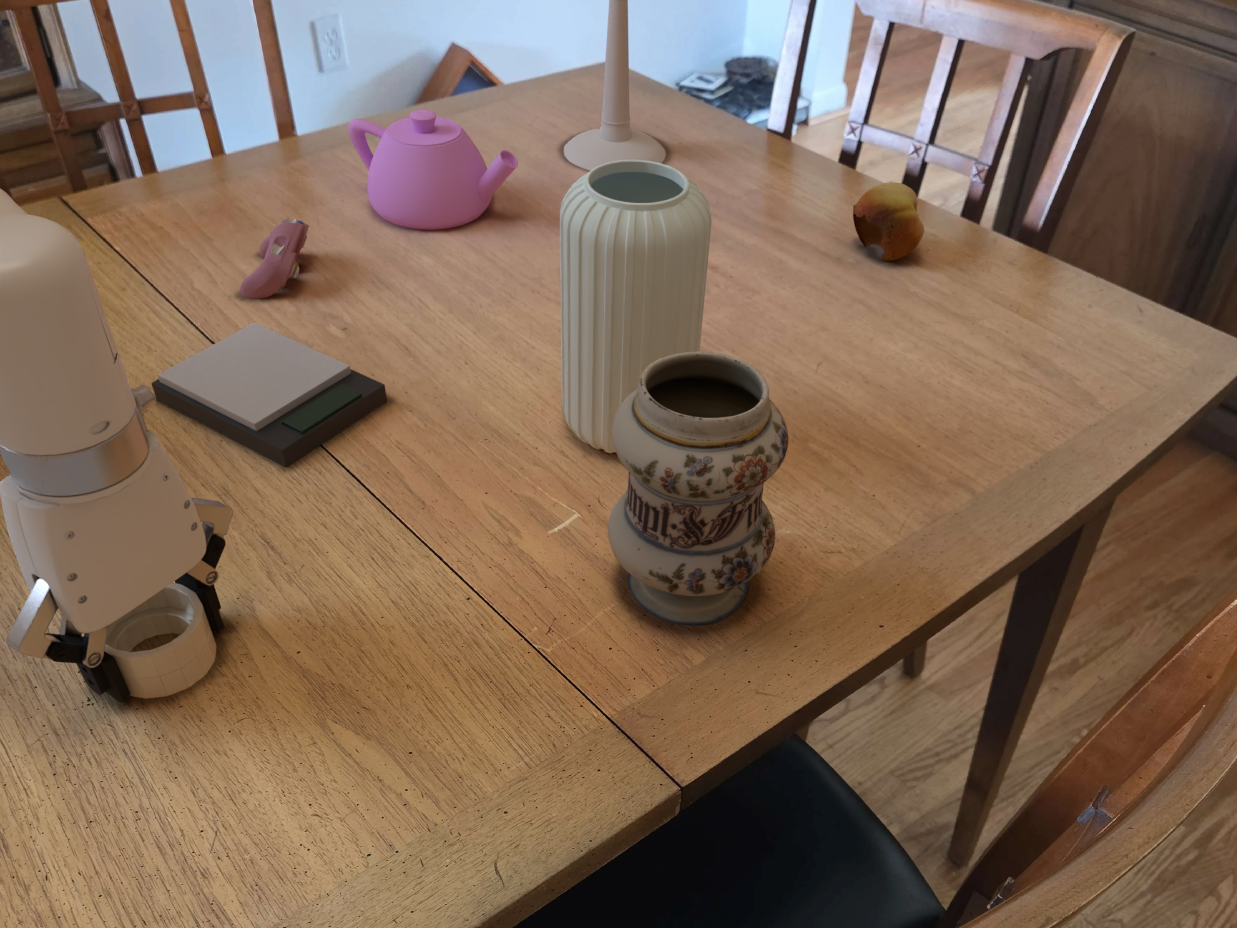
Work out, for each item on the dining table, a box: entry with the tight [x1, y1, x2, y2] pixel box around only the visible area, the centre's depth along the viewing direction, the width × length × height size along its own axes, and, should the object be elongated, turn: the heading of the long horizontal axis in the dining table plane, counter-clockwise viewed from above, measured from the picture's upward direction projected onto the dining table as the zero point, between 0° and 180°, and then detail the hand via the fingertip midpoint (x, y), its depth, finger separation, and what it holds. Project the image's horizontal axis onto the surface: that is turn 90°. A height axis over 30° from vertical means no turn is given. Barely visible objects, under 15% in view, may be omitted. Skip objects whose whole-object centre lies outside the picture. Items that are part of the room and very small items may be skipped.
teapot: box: [347, 109, 519, 231], centre depth 121 cm, size 14×20×11 cm
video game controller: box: [239, 216, 310, 300], centre depth 111 cm, size 10×5×7 cm, turn 0°
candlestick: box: [563, 0, 667, 172], centre depth 126 cm, size 13×13×30 cm
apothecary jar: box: [607, 351, 789, 627], centre depth 77 cm, size 12×12×18 cm
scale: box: [151, 322, 388, 468], centre depth 96 cm, size 16×12×3 cm
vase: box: [559, 160, 713, 454], centre depth 89 cm, size 12×12×22 cm
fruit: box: [852, 181, 925, 262], centre depth 119 cm, size 8×8×8 cm
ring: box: [104, 582, 217, 699], centre depth 74 cm, size 7×7×5 cm
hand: (160, 654), depth 75 cm, fingers closed on ring, 7 cm apart
